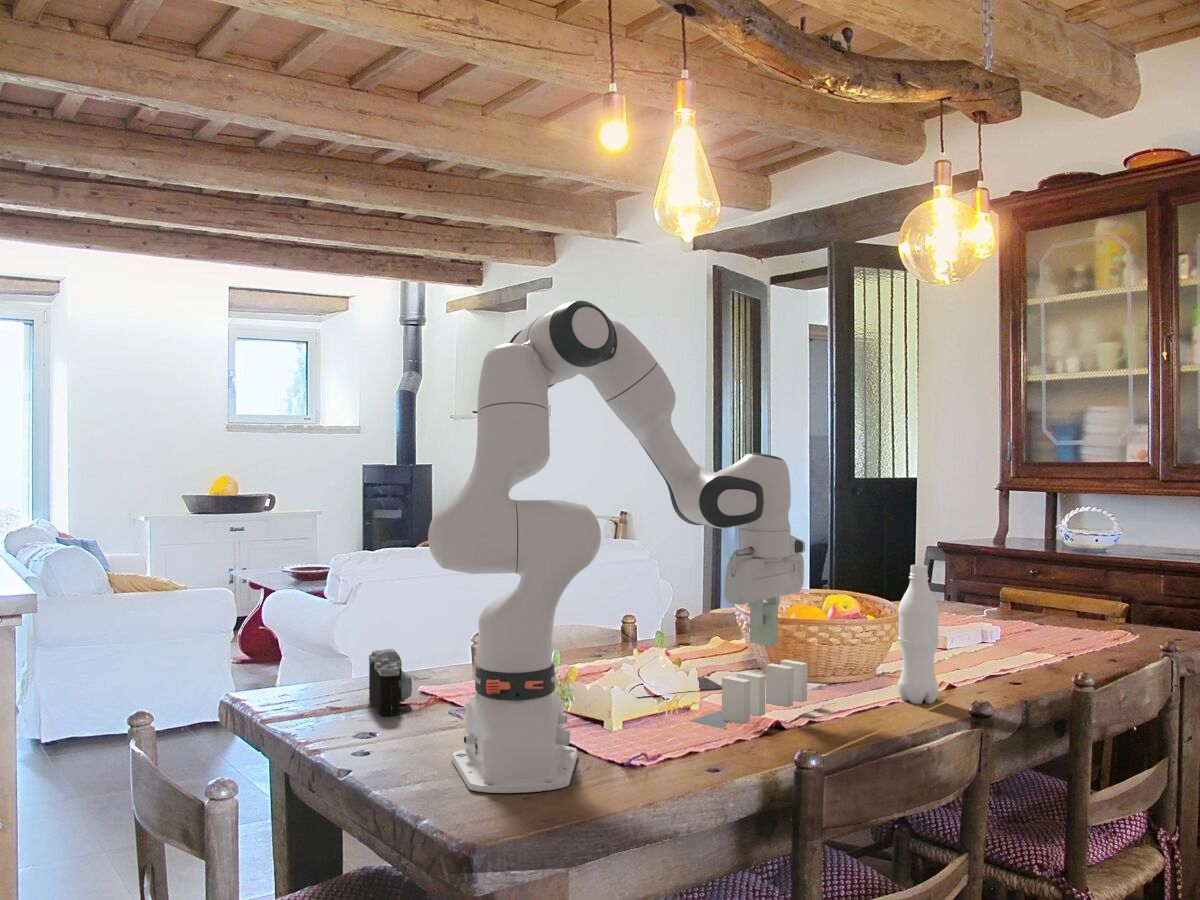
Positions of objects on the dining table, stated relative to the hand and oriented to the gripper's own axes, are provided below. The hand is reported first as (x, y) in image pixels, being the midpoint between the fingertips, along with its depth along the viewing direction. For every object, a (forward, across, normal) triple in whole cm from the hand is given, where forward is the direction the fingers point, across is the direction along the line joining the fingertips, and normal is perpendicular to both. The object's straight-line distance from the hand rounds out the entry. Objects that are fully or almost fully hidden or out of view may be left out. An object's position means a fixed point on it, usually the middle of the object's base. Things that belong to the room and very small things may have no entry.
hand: (764, 623), depth 183 cm
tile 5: (+15, +9, -1) cm, 18 cm away
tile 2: (+15, -5, 0) cm, 16 cm away
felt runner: (+16, 0, -1) cm, 16 cm away
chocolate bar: (+16, +2, +22) cm, 28 cm away
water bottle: (+16, +25, -17) cm, 34 cm away
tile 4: (+15, +4, -1) cm, 16 cm away
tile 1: (+15, -9, 0) cm, 18 cm away
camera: (+16, -42, +51) cm, 68 cm away
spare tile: (+4, 0, 0) cm, 4 cm away
